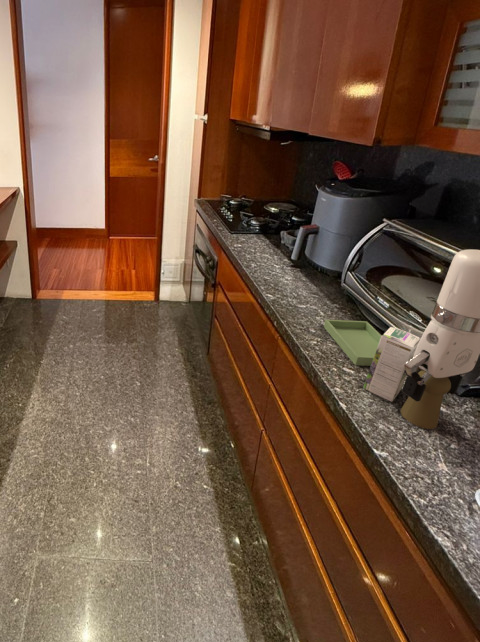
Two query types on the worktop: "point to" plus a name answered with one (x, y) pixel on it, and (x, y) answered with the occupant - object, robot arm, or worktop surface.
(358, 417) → the worktop surface
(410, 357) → the syrup box
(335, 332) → the spice tray
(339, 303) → the worktop surface
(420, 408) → the cork
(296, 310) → the worktop surface
